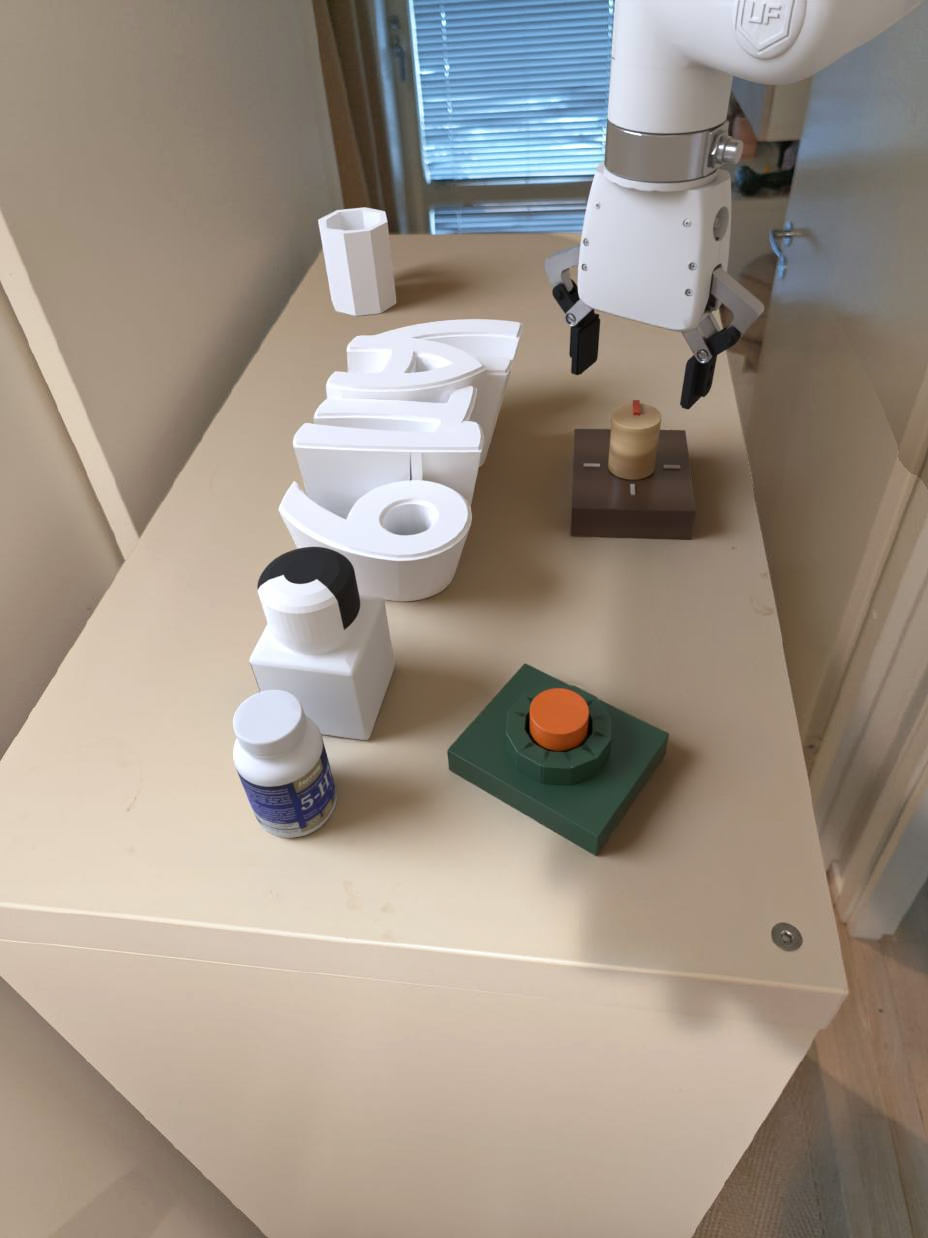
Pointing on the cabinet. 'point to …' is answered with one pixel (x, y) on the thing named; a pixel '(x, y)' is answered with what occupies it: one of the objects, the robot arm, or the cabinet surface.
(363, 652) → the block figurine
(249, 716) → the pill bottle
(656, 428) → the knob
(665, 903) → the cabinet surface
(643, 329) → the cabinet surface
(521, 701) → the green push button box
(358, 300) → the white octagonal cup
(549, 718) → the button
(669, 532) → the hob panel
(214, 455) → the cabinet surface
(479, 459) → the white lettered block
